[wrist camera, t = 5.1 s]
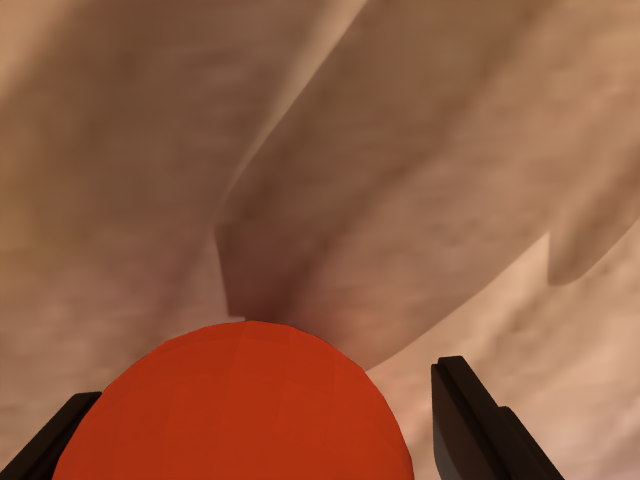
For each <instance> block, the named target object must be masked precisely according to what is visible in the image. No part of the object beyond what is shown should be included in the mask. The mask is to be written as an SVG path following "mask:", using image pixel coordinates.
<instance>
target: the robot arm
mask: <svg viewBox="0 0 640 480" xmlns="http://www.w3.org/2000/svg"><path fill="white" fill-rule="evenodd" d="M431 383H432V412H433V442H434V457H435V463H436V466H437V469H438V472H439V475H440V477H441V480H565V479H564V478H563V477H562V475H561V474H560V473H559V471H558V470H557V469H556V468H555V466H554V465H553V464H552V462H551V461H550V460H549V458H548V457H547V456H546V454H545V453H544V452H543V450H542V449H541V448H540V446H539V445H538V444H537V442H536V441H535V440H534V438H533V437H532V436H531V435H530V433H529V432H528V431H527V429H526V428H525V427H524V425H523V424H522V423H521V421H520V420H519V419H518V417H517V416H516V415H515V413H514V412H513V411H512V410H511V409H510V408H509V407H506V406H502V407H498V405H497V404H496V402H495V401H494V400H493V398H492V397H491V396H490V394H489V393H488V391H487V390H486V389H485V387H484V386H483V384H482V383H481V382H480V380H479V379H478V377H477V376H476V375H475V373H474V372H473V370H472V369H471V368H470V366H469V365H468V363H467V362H466V361H465V359H464V358H463V357H462V356H451V357H440V358H439V359H438V364H432V366H431ZM101 395H102V392H99V391H98V392H88V393H78V394H75V395H74V396H72V397H71V398H70V399H69V400H68V401H67V403H66V404H65V405H64V406H63V407H62V408H61V409H60V410H59V411H58V412H57V413H56V414H55V415H54V416H53V417H52V418H51V419H50V421H49V422H48V423H47V424H46V425H45V426H44V427H43V428H42V429H41V430H40V431H39V432H38V433H37V434H36V435H35V436H34V438H33V439H32V440H31V441H30V442H29V443H28V444H27V445H26V446H25V447H24V448H23V449H22V450H21V451H20V452H19V453H18V454H17V456H16V457H15V458H14V459H13V460H12V461H11V462H10V463H9V464H8V465H7V466H6V467H5V468H4V469H3V470H2V471H1V473H0V480H52V477H53V474H54V472H55V469H56V466H57V463H58V460H59V458H60V456H61V454H62V453H63V451H64V449H65V448H66V446H67V444H68V443H69V441H70V439H71V438H72V436H73V434H74V433H75V431H76V429H77V427H78V426H79V424H80V422H81V421H82V419H83V418H84V417H85V415H86V414H87V413H88V411H89V410H90V409H91V408H92V406H93V405H94V404H95V402H96V401H97V400H98V399H99V397H100V396H101Z"/></svg>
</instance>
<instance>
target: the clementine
mask: <svg viewBox="0 0 640 480" xmlns="http://www.w3.org/2000/svg"><path fill="white" fill-rule="evenodd" d="M52 480H414V473H413V466H412V460H411V456H410V454H409V451H408V449H407V446H406V443H405V441H404V438H403V436H402V433H401V431H400V428H399V425H398V423H397V421H396V419H395V417H394V415H393V413H392V411H391V409H390V408H389V406H388V404H387V402H386V400H385V398H384V396H383V395H382V394H381V393H380V391H379V390H378V389H377V387H376V386H375V385H374V384H373V382H372V381H371V380H370V378H369V377H368V376H367V375H366V373H365V372H364V371H363V370H362V368H361V367H360V366H358V365H357V364H356V363H354V362H353V361H352V360H350V359H349V358H347V357H346V356H345V355H343V354H342V353H341V352H339V351H338V350H337V349H335V348H334V347H333V346H331V345H330V344H328V343H327V342H325V341H323V340H322V339H320V338H318V337H316V336H313V335H311V334H308V333H306V332H303V331H301V330H298V329H296V328H293V327H291V326H288V325H282V324H275V323H267V322H260V321H245V322H235V323H226V324H218V325H213V326H208V327H204V328H201V329H198V330H196V331H193V332H190V333H188V334H185V335H182V336H179V337H177V338H174V339H171V340H168V341H166V342H165V343H163V344H162V345H160V346H159V347H158V348H156V349H155V350H153V351H152V352H150V353H149V354H148V355H146V356H145V357H143V358H142V359H141V360H139V361H138V362H136V363H135V364H134V365H132V366H131V367H130V368H129V369H128V370H127V371H125V372H124V373H123V374H122V375H121V376H120V377H118V378H117V379H116V380H115V381H114V382H112V383H111V384H110V385H109V386H108V387H107V388H106V390H105V391H104V392H103V393H102V395H101V396H100V397H99V399H98V400H97V401H96V402H95V404H94V405H93V406H92V408H91V409H90V410H89V411H88V413H87V414H86V415H85V417H84V418H83V419H82V421H81V422H80V424H79V426H78V427H77V429H76V431H75V433H74V434H73V436H72V438H71V439H70V441H69V443H68V444H67V446H66V448H65V449H64V451H63V453H62V454H61V456H60V458H59V460H58V463H57V466H56V469H55V472H54V474H53V477H52Z"/></svg>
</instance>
